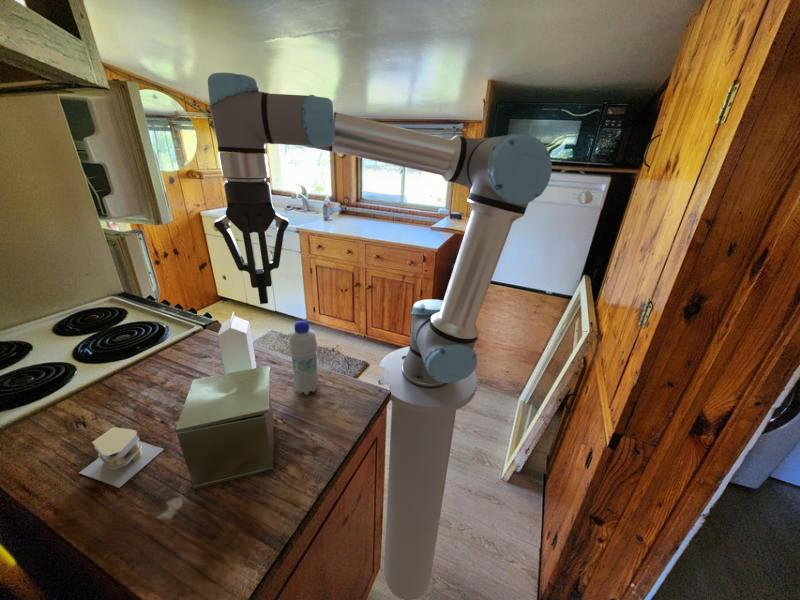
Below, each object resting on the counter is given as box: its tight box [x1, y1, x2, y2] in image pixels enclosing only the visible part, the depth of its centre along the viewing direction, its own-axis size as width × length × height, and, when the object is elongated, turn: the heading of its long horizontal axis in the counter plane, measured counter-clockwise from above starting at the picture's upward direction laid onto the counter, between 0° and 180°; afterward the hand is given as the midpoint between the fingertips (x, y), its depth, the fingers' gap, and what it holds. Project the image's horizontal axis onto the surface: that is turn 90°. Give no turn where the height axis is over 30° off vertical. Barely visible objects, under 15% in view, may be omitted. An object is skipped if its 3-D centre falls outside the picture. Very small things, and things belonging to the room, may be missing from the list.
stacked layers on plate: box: [78, 426, 165, 488], centre depth 63 cm, size 10×9×6 cm
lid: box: [174, 365, 271, 434], centre depth 61 cm, size 14×14×1 cm
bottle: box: [288, 320, 320, 396], centre depth 82 cm, size 7×7×20 cm
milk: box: [216, 310, 258, 374], centre depth 79 cm, size 6×6×22 cm
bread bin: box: [176, 396, 275, 490], centre depth 64 cm, size 14×14×14 cm
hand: (264, 301), depth 67 cm, fingers closed
